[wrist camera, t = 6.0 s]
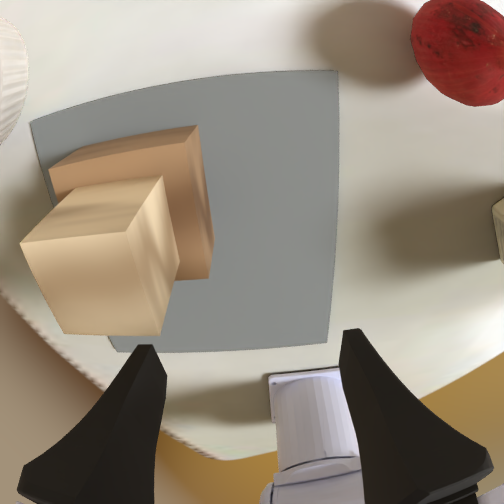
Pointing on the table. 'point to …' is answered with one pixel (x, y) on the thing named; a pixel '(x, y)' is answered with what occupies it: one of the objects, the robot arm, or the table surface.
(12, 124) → the ramekin
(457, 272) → the table surface
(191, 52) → the table surface
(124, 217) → the birch block
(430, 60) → the onion
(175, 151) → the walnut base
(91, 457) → the robot arm
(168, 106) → the mat
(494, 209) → the skincare box
